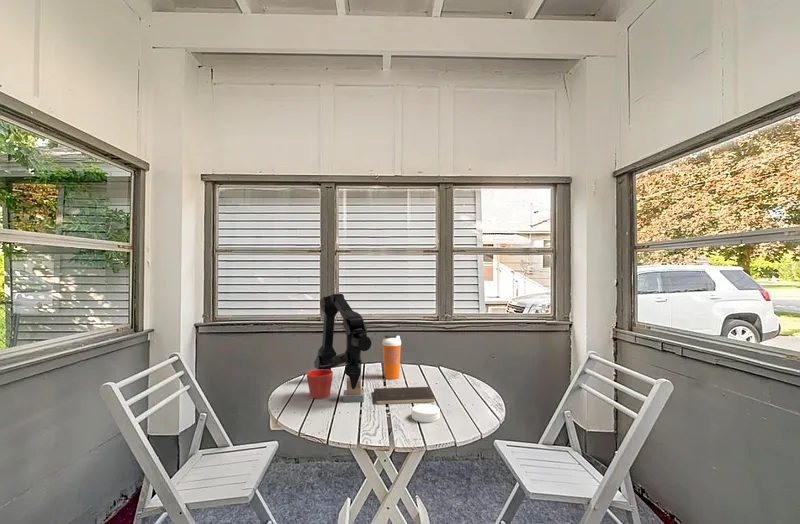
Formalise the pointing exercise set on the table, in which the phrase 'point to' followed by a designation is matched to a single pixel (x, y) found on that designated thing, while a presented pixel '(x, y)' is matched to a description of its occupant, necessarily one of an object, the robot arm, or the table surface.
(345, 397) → the grey box
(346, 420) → the table surface
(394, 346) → the shaker bottle
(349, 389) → the tan block
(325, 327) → the robot arm
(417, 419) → the coaster
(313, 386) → the flower pot
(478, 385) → the table surface
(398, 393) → the hardcover book
